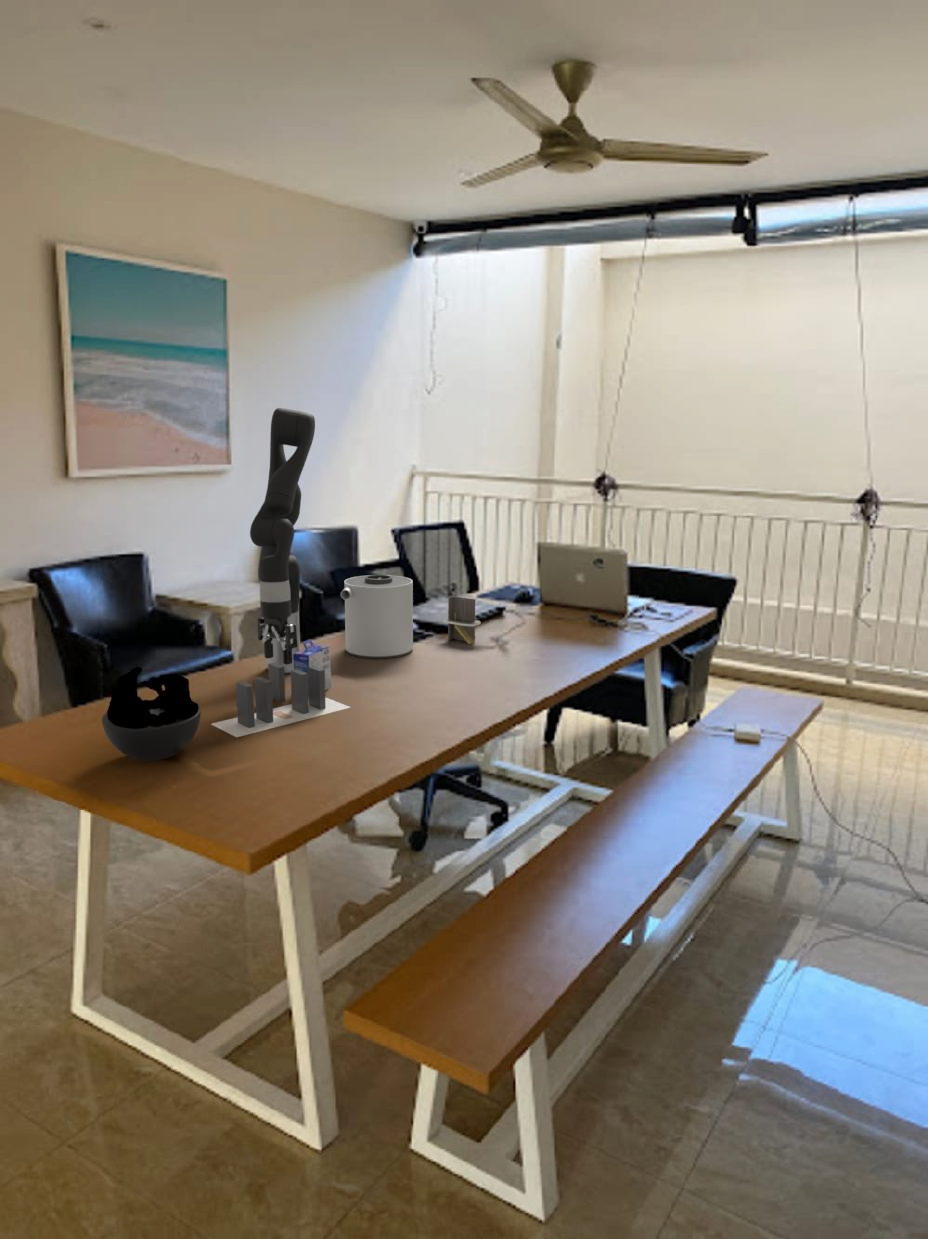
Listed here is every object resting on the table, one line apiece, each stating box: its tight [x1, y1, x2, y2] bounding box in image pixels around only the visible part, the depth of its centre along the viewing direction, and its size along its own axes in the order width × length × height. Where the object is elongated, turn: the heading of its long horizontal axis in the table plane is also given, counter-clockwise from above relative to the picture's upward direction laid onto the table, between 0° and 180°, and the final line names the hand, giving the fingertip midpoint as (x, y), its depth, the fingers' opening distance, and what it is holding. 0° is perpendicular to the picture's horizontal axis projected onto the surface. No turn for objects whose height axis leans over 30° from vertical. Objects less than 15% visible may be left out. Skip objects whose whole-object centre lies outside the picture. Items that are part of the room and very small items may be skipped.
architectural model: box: [442, 595, 481, 645], centre depth 296 cm, size 20×25×15 cm
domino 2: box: [254, 676, 274, 723], centre depth 216 cm, size 2×5×10 cm, turn 44°
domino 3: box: [267, 663, 286, 703], centre depth 232 cm, size 2×5×10 cm, turn 44°
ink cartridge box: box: [293, 638, 332, 698], centre depth 239 cm, size 10×6×14 cm, turn 155°
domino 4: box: [290, 669, 309, 714], centre depth 223 cm, size 2×5×10 cm, turn 43°
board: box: [210, 696, 351, 738], centre depth 221 cm, size 12×32×1 cm, turn 133°
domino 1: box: [235, 680, 255, 728], centre depth 213 cm, size 2×5×10 cm, turn 44°
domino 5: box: [308, 666, 326, 710], centre depth 226 cm, size 2×5×10 cm, turn 43°
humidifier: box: [340, 574, 414, 660], centre depth 283 cm, size 22×21×23 cm
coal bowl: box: [101, 666, 202, 762], centre depth 194 cm, size 20×20×19 cm
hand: (278, 660), depth 231 cm, fingers open, 8 cm apart
